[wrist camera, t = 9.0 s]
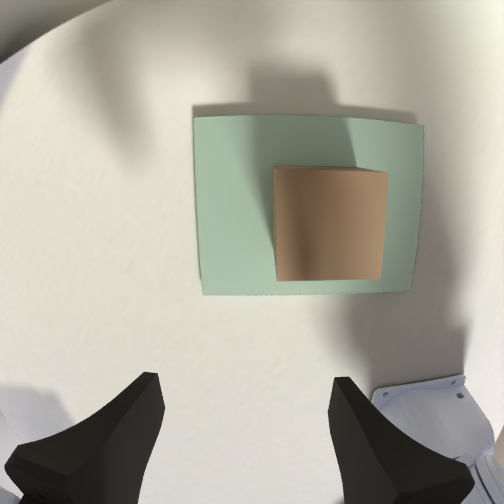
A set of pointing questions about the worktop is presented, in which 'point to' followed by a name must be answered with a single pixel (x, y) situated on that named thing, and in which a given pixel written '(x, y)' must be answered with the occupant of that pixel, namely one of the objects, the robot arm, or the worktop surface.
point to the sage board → (261, 195)
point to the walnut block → (328, 222)
